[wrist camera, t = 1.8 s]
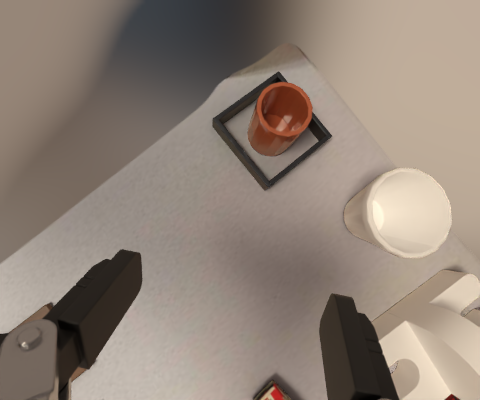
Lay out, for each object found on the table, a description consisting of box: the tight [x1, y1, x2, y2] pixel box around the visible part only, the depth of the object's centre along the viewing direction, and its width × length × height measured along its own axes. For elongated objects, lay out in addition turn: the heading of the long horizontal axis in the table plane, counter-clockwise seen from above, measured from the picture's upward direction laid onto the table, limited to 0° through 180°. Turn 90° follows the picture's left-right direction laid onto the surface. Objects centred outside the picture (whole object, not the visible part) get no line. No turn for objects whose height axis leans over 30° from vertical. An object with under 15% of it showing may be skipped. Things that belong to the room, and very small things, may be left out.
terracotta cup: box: [248, 82, 312, 156], centre depth 34 cm, size 6×6×8 cm
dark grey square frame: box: [213, 72, 332, 191], centre depth 37 cm, size 12×12×2 cm
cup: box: [344, 168, 452, 258], centre depth 33 cm, size 10×10×9 cm
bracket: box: [371, 270, 480, 400], centre depth 31 cm, size 19×10×11 cm, turn 121°
